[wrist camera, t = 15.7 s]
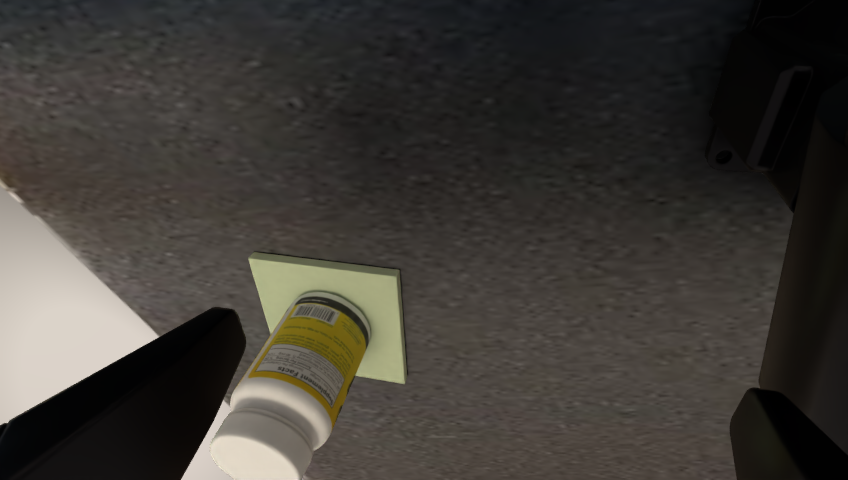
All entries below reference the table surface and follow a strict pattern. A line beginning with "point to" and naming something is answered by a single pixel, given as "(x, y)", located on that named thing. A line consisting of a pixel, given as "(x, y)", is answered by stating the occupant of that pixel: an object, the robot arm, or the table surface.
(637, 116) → the table surface
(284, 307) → the mat
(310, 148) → the table surface
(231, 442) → the supplement bottle
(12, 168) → the table surface
